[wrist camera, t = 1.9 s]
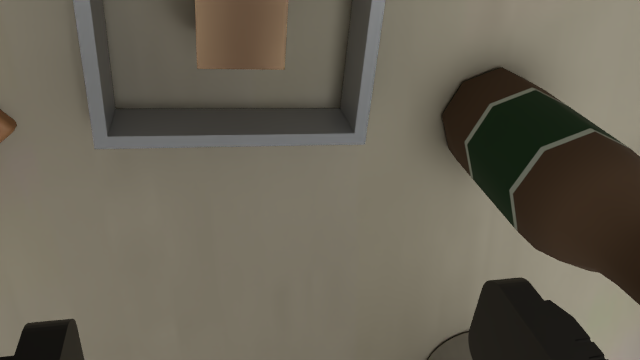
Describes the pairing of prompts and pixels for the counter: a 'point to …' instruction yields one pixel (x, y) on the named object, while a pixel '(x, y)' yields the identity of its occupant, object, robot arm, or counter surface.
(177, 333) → the counter surface
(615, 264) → the beer bottle
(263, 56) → the walnut block
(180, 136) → the grey bin
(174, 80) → the counter surface
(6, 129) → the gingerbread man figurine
